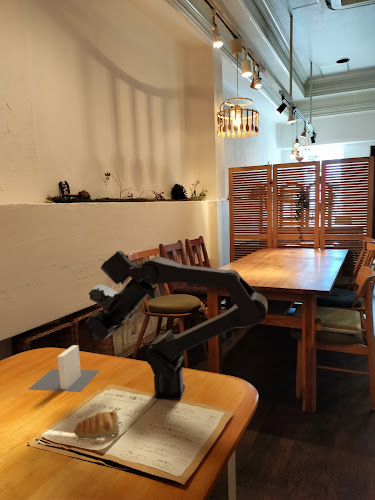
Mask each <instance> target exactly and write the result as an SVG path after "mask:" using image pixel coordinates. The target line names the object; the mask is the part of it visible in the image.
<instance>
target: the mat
mask: <svg viewBox="0 0 375 500" xmlns="http://www.w3.org/2000/svg"><path fill="white" fill-rule="evenodd" d="M99 372H100V370H97V369H96V370H95V369H94V370H93V369H92V370H91V369H81V377H80V378H79V379H77V380H76V381H75V382H74V383H73V384H72V385H71V386H70V387H68V388H67V389H61V387H60V376H59V368H52V369H50V370H49V371H48V372H47V373H46V374H44V375H43V376H42V377H41V378H39V379H38V380H37V381H36V382H35V383H34V384H33V385H31V386H29V388H28V390H34V391H36V390H37V391H38V390H39V391H58V392H74V393H75V392H76V393H77V392H78V393H82V391H84V389H85V388H86V387H87V385H89V384H90V382H91V381H92V380H93V379H94V378H95V377H96V376H97V375H98V373H99Z"/></svg>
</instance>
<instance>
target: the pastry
mask: <svg viewBox="0 0 375 500" xmlns="http://www.w3.org/2000/svg"><path fill="white" fill-rule="evenodd" d="M119 423H120V419H119V416H118V412H117V410H116V409H113V410H112V411H111V410H110V411H103V412H101V411H99V412H97V413H95V414H94V415H92V416H90V417H86V418H85V419H84V420H81V421H79V422H78V423H77V424H76V425H75V427H74V430H73V431H74V434H75V436H76V437H77V438H78V439H81V438H82V439H83V438H88V439H89V440H98V439H97V438H100V439H104V438H103V437H107V438H110V437H109V436H112V435H116V436H117V434H118V433H120V424H119ZM101 437H102V438H101ZM112 437H113V436H112ZM82 439H81V440H82ZM83 440H84V439H83Z"/></svg>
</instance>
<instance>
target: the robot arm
mask: <svg viewBox="0 0 375 500" xmlns="http://www.w3.org/2000/svg"><path fill="white" fill-rule="evenodd" d="M100 270H101V271H102V272H103V273H104V274H105V275H106V276H107V277H108V278H109V279H110V280H111V281H112V282H113V283H114V284H115V285H119V284H121V285H122V286H123V285H125V286H124V287H123V288H122V289H121V290H120V291H119V292H118V291H116V290H115V289H113V288H111V287H109V286H107V285H106V284H104V283H103V284H101V283H100V284H96V285H95V286H93V287H92V289H91V291H89V292H88V296H89V300H90V301H92V302H94V303H96V304H100V305H102V310H103V312H99V311H96V312H95V313H93V314H91V315H90V316H88V318H86V320H85V322H84V323H85V325H86V326H87V327H88V328H89V329H90V331H91V332H93V335H92V338H93V339H94V340H98V339H100V340H101V341H105V340H106V339H108V338H109V337H110V336H111V335H112V334H114V333H115V332H116V331H117V330H118V329H120V328H121V327H122V326H124V322H126V321H127V320H128V321H130V320H131V319H132V318H133V317H134V316H135V315H136V314H137V313H138V308H139V307H140V305H141V303H142V302H143V301H144V300H145V299H146V298H147V297H148V296H149V297H150V298H151V299H152V300H153V299H156V298H157V297H158V296H160V293H159V292H160V291H159V285H165V284H171V283H181V284H182V283H183V284H191V285H199V286H205V287H213V288H222V289H225V291H226V292H227V293H228V294H229V296H230V298H231V299H232V301H233V302H234V305H233V306H232V307H230V308H229V309H228V310H227V311H224V312H223V313H220V314H218V315H216V316H214V317H211V318H210V319H207V320H205V321H203V322H202V323H199V324H197V325H196V326H193V327H192V328H189V329H186V330H185V331H183V332H180V333H176V334H175V333H173V331H172V329H170V330H168V331H167V332H166V333H163V334H158V335H157V336H156V338H155V339H154V340H153V341H152V342H151V343H150V345H149V348H147V350H146V351H145V360H146V362H147V364H148V365H149V366H150V368H151V370H152V374H153V375H154V376H153V386H154V392H155V395H154V398H155V399H162V400H163V399H164V400H181V399H182V397H183V394H184V391H185V389H186V385H185V384H184V375H183V374H184V373H183V366H181V365H182V363H183V362H184V359H185V356H184V354H183V353H184V352H186V351H187V350H190V349H192V348H194V347H196V346H198V345H200V344H203V343H205V342H206V341H209V340H211V339H213V338H215V337H216V338H217V337H218V336H219V335H222V334H224V333H227V332H229V331H231V330H233V329H240V328H241V329H242V328H248V327H253V326H256V325H258V324H261V323H262V322H264V320H265V319H266V316H267V312H268V300H267V298H266V297H265V296H264V295H262V294H261V293H258V292H257V291H255V289H254V288H253V287H252V286H251V285H250V284H249V283H248V282H247V280H245V279H244V278H243V277H242V276H241V275H240V273H239V272H238V271H237V270H235V269H223V268H221V269H220V268H215V267H206V266H205V267H204V266H196V265H187V264H181V263H178V262H176V261H174V260H171V259H169V258H166V257H161V256H155V257H154V256H153V258H150V259H147V260H146V261H145V262H142V263H141V262H140V263H137V264H134V263H133V262H132V260H131V259H129V258H128V257H127V255H126V254H125V253H124V252H123V251H122V250H117V251H116V252H115V253H114V254H113V255H112V256H111V257H109V258H108V259H107V260H105V261H104V262H103V263H102V264H101V266H100ZM128 281H129V282H128Z"/></svg>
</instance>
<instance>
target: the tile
mask: <svg viewBox="0 0 375 500" xmlns="http://www.w3.org/2000/svg"><path fill="white" fill-rule="evenodd" d="M57 364H58V369H59V376H60V387H61V389H67V388H68V387H70V386H71V385H72V384H73V383H74V382H75V381H76V380H77V379H79V378H80V377H81V370H82V368H81V359H80V348H79V345H78V344H77V345H75V344H74V345H73V344H72V345H71V346H69V347H68V348H67V349H66V350H64V351H63V352H62V353H60V354H59V355H57Z"/></svg>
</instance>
